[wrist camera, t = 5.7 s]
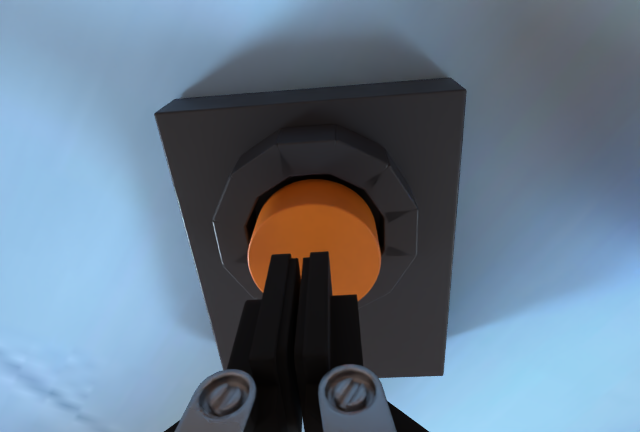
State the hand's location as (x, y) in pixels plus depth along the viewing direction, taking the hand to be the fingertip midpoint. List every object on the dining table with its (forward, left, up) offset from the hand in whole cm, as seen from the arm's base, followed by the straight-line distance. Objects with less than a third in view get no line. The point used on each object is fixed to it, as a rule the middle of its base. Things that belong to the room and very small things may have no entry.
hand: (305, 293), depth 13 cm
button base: (+2, +1, -7) cm, 8 cm away
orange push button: (0, 0, -4) cm, 4 cm away
